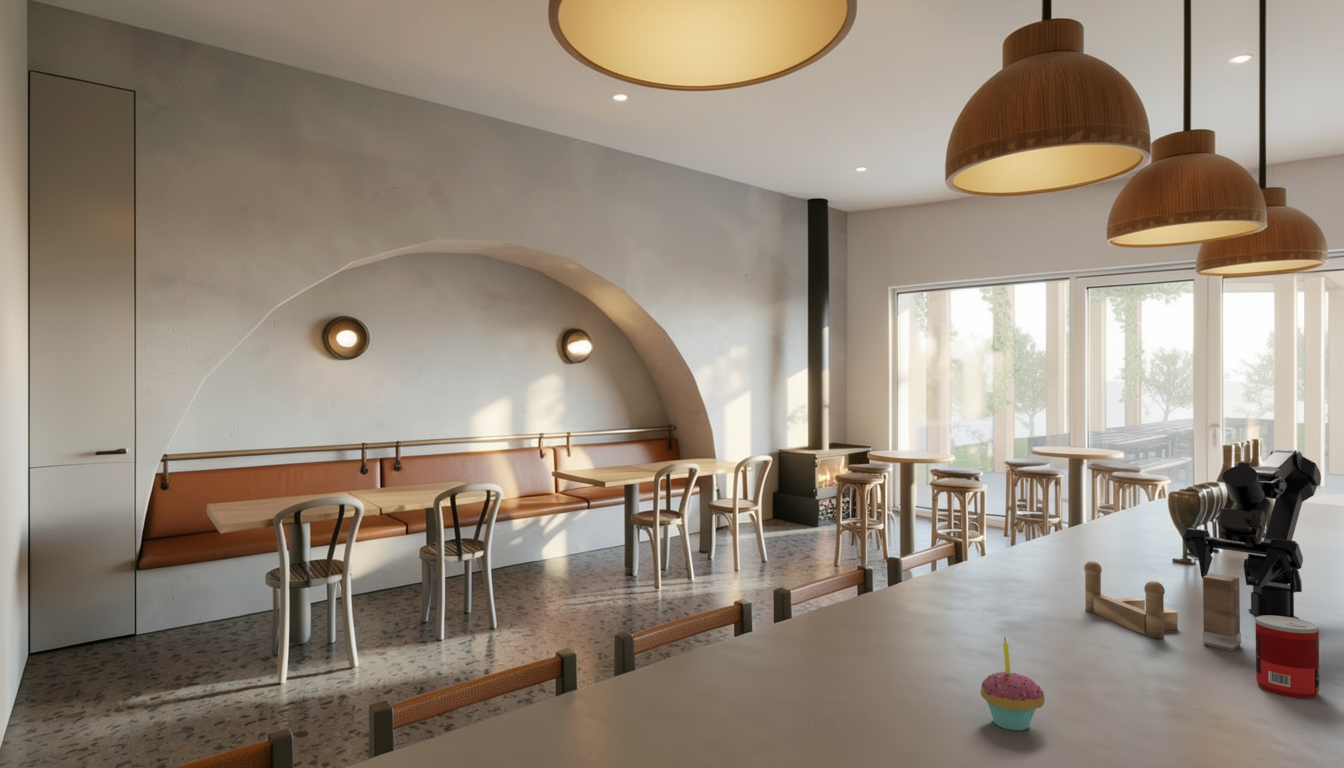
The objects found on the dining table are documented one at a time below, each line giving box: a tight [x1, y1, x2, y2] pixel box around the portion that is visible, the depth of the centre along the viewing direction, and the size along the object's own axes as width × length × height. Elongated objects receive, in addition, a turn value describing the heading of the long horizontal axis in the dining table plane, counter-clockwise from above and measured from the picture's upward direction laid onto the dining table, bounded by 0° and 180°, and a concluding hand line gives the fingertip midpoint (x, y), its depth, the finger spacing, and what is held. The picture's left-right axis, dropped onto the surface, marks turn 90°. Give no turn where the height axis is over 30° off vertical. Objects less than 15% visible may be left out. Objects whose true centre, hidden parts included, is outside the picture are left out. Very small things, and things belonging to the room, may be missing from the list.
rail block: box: [1202, 572, 1242, 652], centre depth 146 cm, size 5×5×13 cm
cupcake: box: [980, 636, 1046, 731], centre depth 111 cm, size 9×8×12 cm
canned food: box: [1254, 615, 1320, 700], centre depth 124 cm, size 8×8×11 cm
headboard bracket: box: [1083, 560, 1179, 640], centre depth 160 cm, size 10×21×11 cm, turn 7°
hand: (1230, 581), depth 148 cm, fingers open, 9 cm apart
